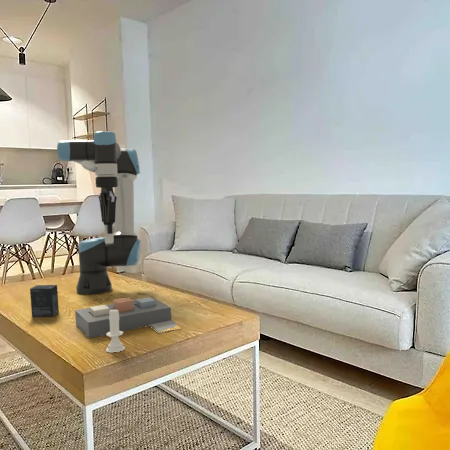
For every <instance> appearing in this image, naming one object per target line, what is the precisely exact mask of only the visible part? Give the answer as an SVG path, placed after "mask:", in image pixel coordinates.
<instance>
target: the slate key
mask: <svg viewBox="0 0 450 450" xmlns="http://www.w3.org/2000/svg"><path fill="white" fill-rule="evenodd" d="M135 300H136V306H138V307H139V308H145V307H151V306H155V300H153V299H151V297H144V298H136V299H135Z"/></svg>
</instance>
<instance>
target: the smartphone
mask: <svg viewBox="0 0 450 450" xmlns="http://www.w3.org/2000/svg"><path fill="white" fill-rule="evenodd" d="M177 324H178V323H176V322H175V321H173V319H171V320H170V321H165V322H160V323H155V324H150V326H151V327H152V328H153V329H155V330H156V331H157V332H161V331H162V330H163V331H164V330H165V329H166V330H167V329H168V328H170V329H171V328H174V327H175V326H176V325H177ZM150 326H149V327H150ZM178 326H180V325H179V324H178ZM151 327H150V328H151ZM152 328H151V329H152ZM153 329H152V330H153ZM155 330H154V331H155ZM156 331H155V332H156ZM163 331H162V332H163ZM168 331H169V330H168ZM157 332H156V333H157ZM169 332H170V331H169Z"/></svg>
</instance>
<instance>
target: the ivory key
mask: <svg viewBox="0 0 450 450" xmlns="http://www.w3.org/2000/svg"><path fill="white" fill-rule="evenodd" d="M106 305H107V304H100V305H95V306H90V307H89V308H90V314H91V315H92V316H93V317H95V316H101V315H106V314H109V311H110V308H108V307H107V306H106Z"/></svg>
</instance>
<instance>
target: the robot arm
mask: <svg viewBox="0 0 450 450" xmlns="http://www.w3.org/2000/svg"><path fill="white" fill-rule="evenodd" d="M116 136H117V135H116V133H115V132H114V131H111V130H110V131H108V130H107V131H105V130H104V131H103V130H102V131H101V130H99V131H95V132H94V133H93V140H69V139H66V140H59V141H58V143H57V146H56V153H57V158H58V160H59V161H61V162H74V163H77V164H79V165H81V167H83V169H85V170H86V171H89V172H91V173H95V174H94V175H95V176H96V177H95V187H96V188H100V194H99V195H98V201H99V207H100V214H101V215H100V216H101V222H102V223H103V227H104V228H103V229H104V231H103V232H104V236H102V237H101V236H100V237H94V238H89V239H88V238H87V239H84V240H82V241H80V242H79V243H78V251H77V253H78V261H79V264H78V265H79V276H78V280H77V285H76V293H78V294H79V295H98V294H99V295H100V294H103V293H107V292H110V291H111V290H112V289H113V284H112V281H111V279H110V277H109V274H108V268H109V267H110V268H111V267H132V266H133V267H134V266H136V265H138V263H139V261H140V257H141V250H142V249H141V248H142V246H141V245H142V241H141V239H138V234H136V233H135V210H134V209H135V208H134V207H135V206H134V204H135V201H134V194H135V193H134V182H135V180H136V179H137V177H138V175H139V174H140V173H141V170H140V161H139V157H138V153H137V150H136V149H135V148H127V147H125V148H121V146H120V145H119V143H118V142H117V139H116V138H117V137H116ZM112 291H113V290H112Z"/></svg>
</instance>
